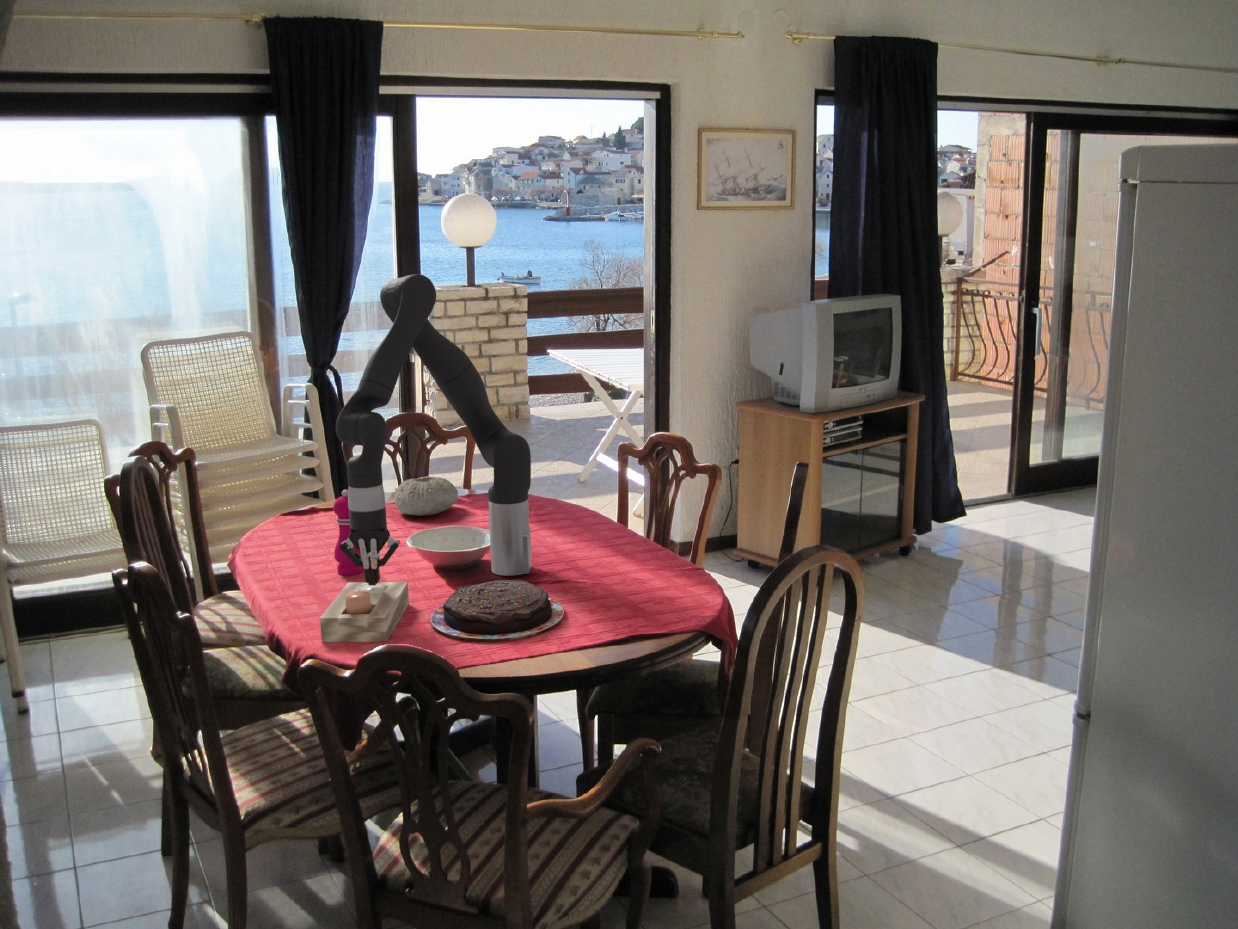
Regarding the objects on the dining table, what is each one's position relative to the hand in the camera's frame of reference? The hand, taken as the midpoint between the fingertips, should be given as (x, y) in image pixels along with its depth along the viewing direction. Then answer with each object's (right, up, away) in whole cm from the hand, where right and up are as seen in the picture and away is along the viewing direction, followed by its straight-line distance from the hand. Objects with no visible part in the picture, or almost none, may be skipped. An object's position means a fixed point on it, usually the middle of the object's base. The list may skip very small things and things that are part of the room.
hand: (372, 584), depth 248 cm
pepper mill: (-11, 0, +29) cm, 31 cm away
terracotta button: (-1, -4, -11) cm, 12 cm away
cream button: (0, -4, +1) cm, 4 cm away
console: (0, -7, -4) cm, 9 cm away
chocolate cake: (+27, -7, -3) cm, 28 cm away
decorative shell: (-2, +12, +81) cm, 81 cm away
